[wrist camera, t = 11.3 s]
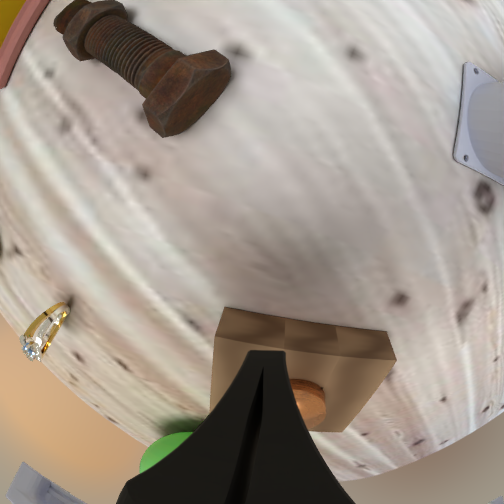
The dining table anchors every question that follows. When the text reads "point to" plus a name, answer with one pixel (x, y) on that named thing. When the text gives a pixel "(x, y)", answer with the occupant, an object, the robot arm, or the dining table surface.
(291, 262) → the dining table surface
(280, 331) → the block
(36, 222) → the dining table surface
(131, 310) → the dining table surface
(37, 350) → the ring
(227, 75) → the bolt
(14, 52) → the yellow mantel clock
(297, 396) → the orange short cylinder
